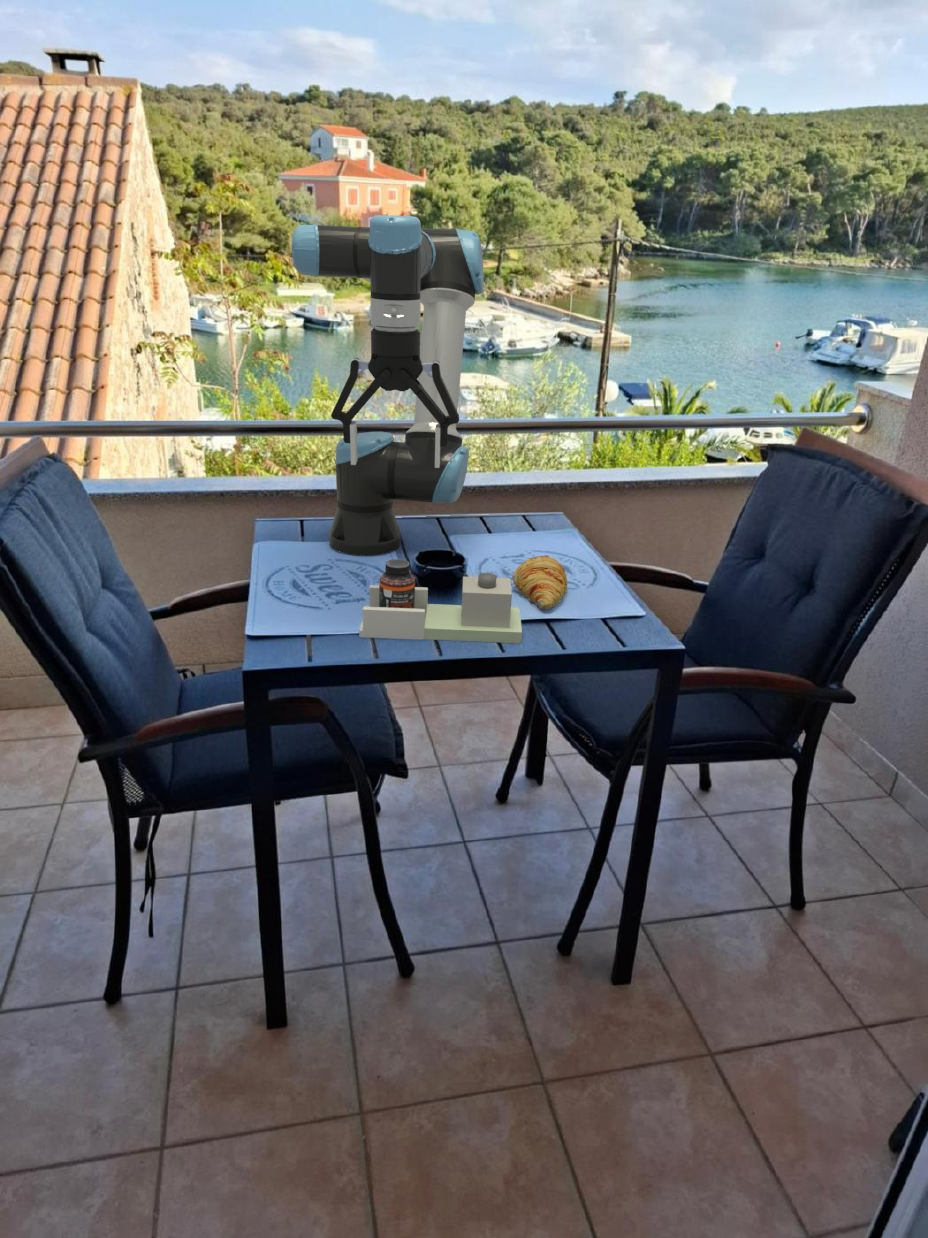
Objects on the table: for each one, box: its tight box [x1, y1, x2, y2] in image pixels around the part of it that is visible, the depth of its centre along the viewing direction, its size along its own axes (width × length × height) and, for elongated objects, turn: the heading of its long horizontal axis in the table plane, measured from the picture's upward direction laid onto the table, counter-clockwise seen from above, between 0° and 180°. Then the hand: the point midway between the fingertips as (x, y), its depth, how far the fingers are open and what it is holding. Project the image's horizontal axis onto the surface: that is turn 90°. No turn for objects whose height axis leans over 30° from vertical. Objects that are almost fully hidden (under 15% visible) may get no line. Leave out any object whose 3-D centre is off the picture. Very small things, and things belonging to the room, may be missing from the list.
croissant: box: [512, 554, 568, 610], centre depth 156 cm, size 21×10×8 cm, turn 3°
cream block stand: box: [358, 572, 523, 644], centre depth 139 cm, size 10×27×10 cm, turn 89°
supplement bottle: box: [378, 558, 416, 609], centre depth 139 cm, size 6×6×11 cm
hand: (395, 464), depth 136 cm, fingers open, 13 cm apart
